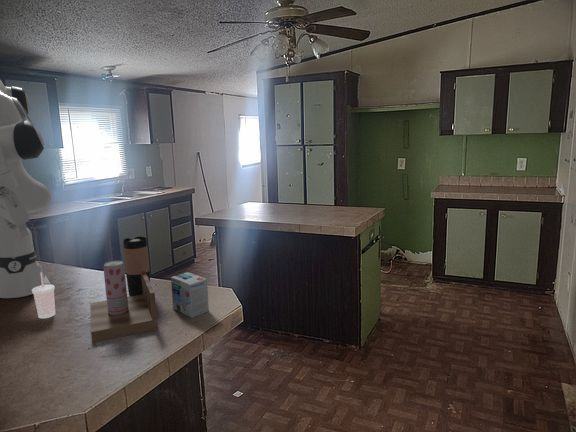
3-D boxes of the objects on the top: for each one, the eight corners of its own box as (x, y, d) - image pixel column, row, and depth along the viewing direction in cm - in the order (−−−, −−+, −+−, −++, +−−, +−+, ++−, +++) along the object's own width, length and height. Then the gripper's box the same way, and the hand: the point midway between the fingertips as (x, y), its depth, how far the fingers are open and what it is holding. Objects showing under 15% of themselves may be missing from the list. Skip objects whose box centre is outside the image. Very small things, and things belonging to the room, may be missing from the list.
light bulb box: (172, 308, 134) (169, 276, 131) (190, 302, 138) (188, 271, 136) (191, 318, 126) (189, 284, 124) (209, 311, 131) (208, 278, 129)
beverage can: (108, 317, 121) (103, 267, 118) (107, 309, 126) (102, 261, 123) (129, 313, 123) (124, 264, 120) (127, 306, 128) (123, 259, 126)
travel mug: (144, 299, 141) (139, 242, 137) (123, 298, 143) (118, 241, 139) (155, 291, 148) (151, 236, 145) (136, 290, 150) (131, 236, 146)
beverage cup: (30, 318, 129) (24, 274, 126) (48, 310, 134) (42, 268, 131) (45, 320, 126) (39, 276, 124) (62, 312, 132) (57, 270, 129)
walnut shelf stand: (91, 312, 132) (87, 278, 130) (147, 302, 139) (144, 270, 137) (92, 342, 112) (87, 304, 110) (157, 329, 120) (154, 292, 117)
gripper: (23, 186, 104) (44, 235, 110) (-2, 175, 117) (19, 220, 123) (-5, 195, 100) (19, 245, 106) (-27, 184, 113) (-5, 229, 119)
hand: (19, 231), depth 114 cm, fingers open, 8 cm apart
